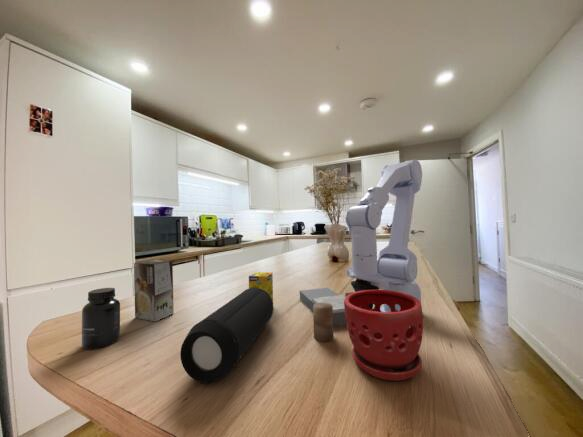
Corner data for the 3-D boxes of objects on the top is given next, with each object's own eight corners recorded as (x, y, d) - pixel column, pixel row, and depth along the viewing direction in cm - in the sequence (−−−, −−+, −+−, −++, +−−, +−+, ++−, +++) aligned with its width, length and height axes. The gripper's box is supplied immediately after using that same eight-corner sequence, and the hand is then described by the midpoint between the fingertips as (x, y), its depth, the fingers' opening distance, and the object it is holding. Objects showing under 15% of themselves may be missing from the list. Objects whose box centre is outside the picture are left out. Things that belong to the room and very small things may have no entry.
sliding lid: (342, 297, 71) (342, 284, 71) (362, 309, 61) (361, 294, 61) (312, 301, 68) (311, 288, 69) (326, 314, 58) (326, 298, 58)
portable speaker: (241, 321, 63) (240, 284, 63) (276, 323, 61) (275, 285, 61) (176, 385, 38) (175, 324, 39) (231, 393, 36) (229, 328, 36)
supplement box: (268, 313, 68) (267, 276, 68) (248, 312, 69) (248, 275, 69) (273, 306, 73) (272, 271, 74) (255, 305, 75) (255, 271, 75)
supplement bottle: (76, 354, 49) (76, 296, 49) (87, 340, 55) (86, 289, 55) (117, 345, 52) (116, 291, 52) (122, 333, 58) (122, 284, 58)
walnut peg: (328, 331, 56) (327, 301, 56) (336, 340, 51) (335, 308, 52) (311, 334, 54) (310, 304, 55) (318, 343, 50) (317, 310, 50)
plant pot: (368, 339, 51) (366, 284, 52) (435, 364, 42) (432, 297, 42) (332, 364, 42) (329, 298, 43) (406, 404, 33) (403, 318, 33)
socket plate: (327, 296, 82) (327, 287, 82) (363, 321, 61) (363, 309, 61) (299, 299, 80) (299, 290, 80) (326, 326, 58) (326, 314, 58)
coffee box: (175, 313, 70) (174, 260, 70) (155, 322, 64) (154, 263, 64) (153, 310, 73) (152, 259, 74) (133, 318, 67) (132, 262, 68)
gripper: (335, 252, 62) (337, 304, 61) (367, 260, 48) (369, 327, 47) (359, 250, 64) (361, 300, 63) (396, 257, 50) (398, 322, 49)
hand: (366, 311), depth 55 cm, fingers closed
